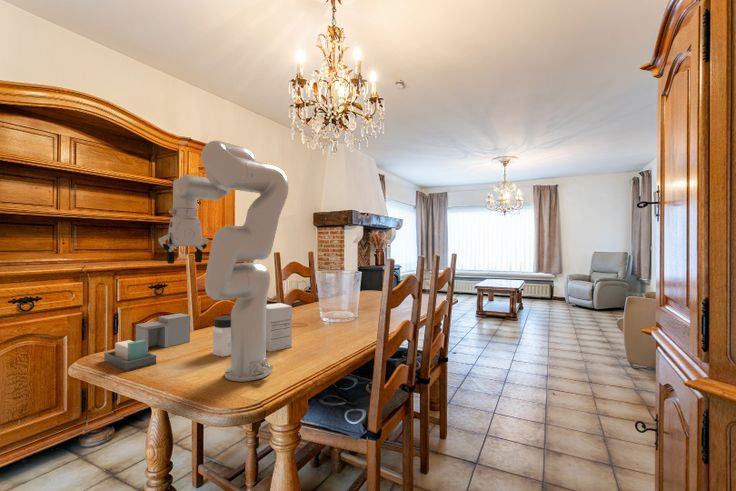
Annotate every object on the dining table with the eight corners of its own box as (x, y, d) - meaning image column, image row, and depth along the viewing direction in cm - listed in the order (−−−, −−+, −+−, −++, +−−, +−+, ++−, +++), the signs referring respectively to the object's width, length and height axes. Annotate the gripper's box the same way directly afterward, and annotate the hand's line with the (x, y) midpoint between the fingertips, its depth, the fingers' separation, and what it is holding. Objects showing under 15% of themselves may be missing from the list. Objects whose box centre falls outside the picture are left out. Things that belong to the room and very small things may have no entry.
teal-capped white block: (145, 361, 106) (145, 340, 106) (130, 365, 102) (130, 343, 102) (129, 355, 112) (129, 335, 112) (115, 358, 108) (115, 338, 108)
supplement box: (257, 346, 125) (258, 305, 125) (280, 341, 131) (280, 302, 131) (269, 352, 118) (269, 308, 118) (292, 347, 124) (292, 305, 124)
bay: (190, 341, 130) (190, 315, 130) (144, 352, 117) (144, 323, 117) (180, 338, 134) (180, 313, 133) (135, 348, 121) (135, 320, 121)
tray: (156, 363, 106) (156, 355, 106) (126, 371, 99) (126, 363, 99) (132, 354, 115) (132, 346, 115) (104, 360, 108) (104, 353, 108)
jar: (215, 358, 111) (215, 321, 111) (210, 351, 118) (211, 316, 118) (243, 353, 116) (243, 318, 116) (238, 347, 123) (238, 314, 123)
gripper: (164, 211, 112) (164, 264, 112) (214, 215, 126) (213, 262, 126) (153, 212, 116) (153, 263, 116) (202, 216, 130) (202, 261, 130)
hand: (184, 262), depth 121 cm, fingers open, 9 cm apart
